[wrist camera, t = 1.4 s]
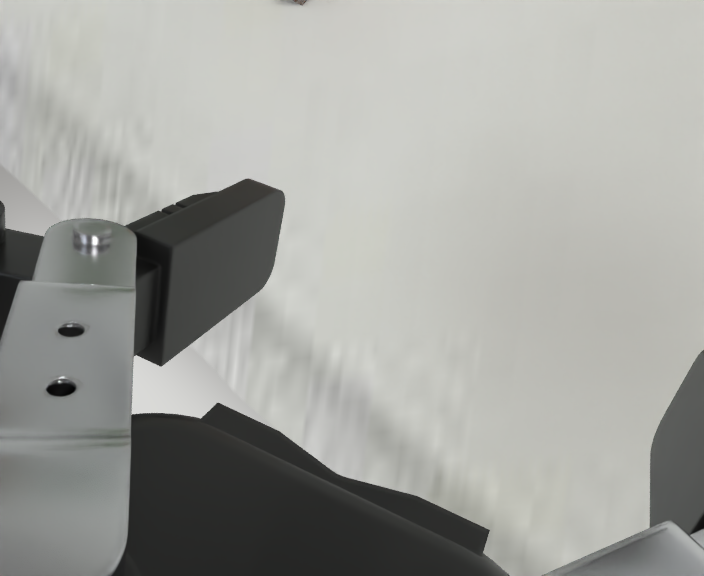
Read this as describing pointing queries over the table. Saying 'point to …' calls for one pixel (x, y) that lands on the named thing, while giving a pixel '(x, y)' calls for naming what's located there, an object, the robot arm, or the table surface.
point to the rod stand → (300, 1)
